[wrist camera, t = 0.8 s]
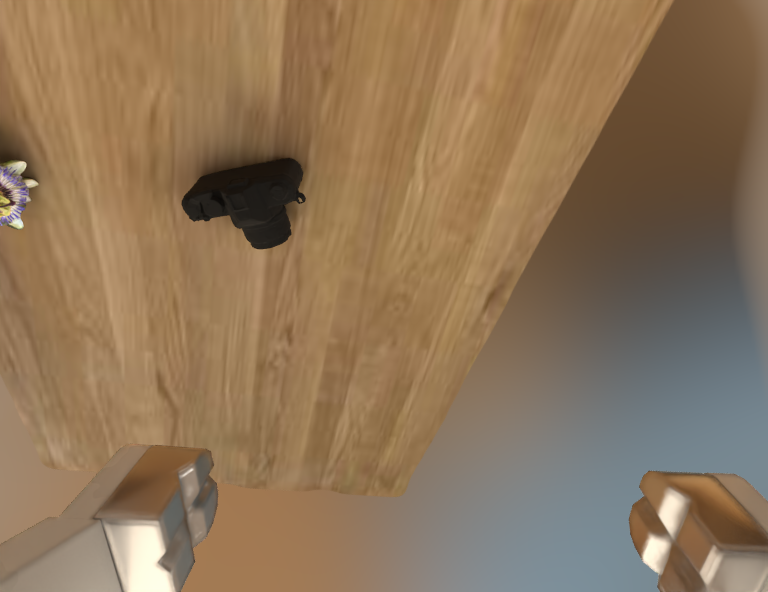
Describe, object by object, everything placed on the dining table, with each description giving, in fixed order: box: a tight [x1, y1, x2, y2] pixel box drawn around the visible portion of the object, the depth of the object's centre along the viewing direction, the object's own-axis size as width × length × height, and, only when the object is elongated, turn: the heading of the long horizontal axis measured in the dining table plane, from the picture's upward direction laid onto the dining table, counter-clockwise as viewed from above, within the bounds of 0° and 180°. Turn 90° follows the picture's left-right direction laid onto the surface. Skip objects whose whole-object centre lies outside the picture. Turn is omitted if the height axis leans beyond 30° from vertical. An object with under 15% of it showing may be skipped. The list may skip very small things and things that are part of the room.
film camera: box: [182, 158, 306, 249], centre depth 52 cm, size 15×10×9 cm, turn 100°
